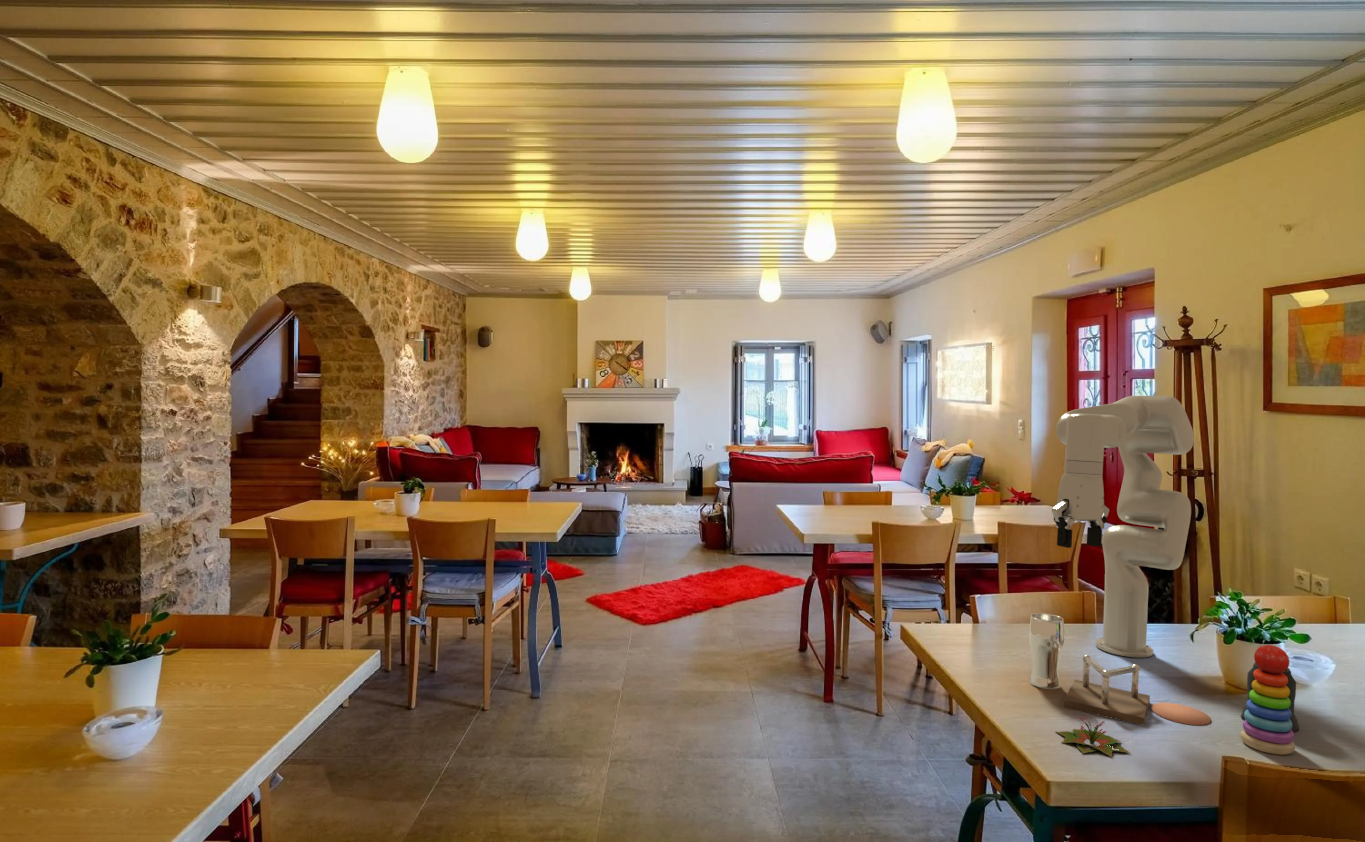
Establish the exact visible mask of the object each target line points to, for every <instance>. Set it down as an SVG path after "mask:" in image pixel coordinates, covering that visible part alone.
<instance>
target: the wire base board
mask: <svg viewBox="0 0 1365 842" xmlns="http://www.w3.org/2000/svg"><path fill="white" fill-rule="evenodd" d="M1150 699H1151V698H1150V695H1149V694H1144V693H1139V692H1138V698H1133V697H1131V691H1130V690H1125V689H1120V688H1116V687H1111V686H1109V697H1108V705H1104V704H1102V703H1101V701H1102V684H1098V683H1092V682H1089V687H1088V688H1086V687H1083V680H1080V679H1079V680H1078V679H1074V681H1073V682H1072V684H1071V686H1070V688H1069V689H1068V692H1067V693H1066V695H1065V697H1064V699H1063V707H1064V708H1067V709H1072V710H1076V711H1080V712H1084V713H1088V714H1093V713H1094V714H1093V715H1097V714H1099V715H1098V716H1101V715H1103V716H1102V717H1105V716H1107V717H1106V718H1110V717H1112V718H1111V719H1114V718H1117V719H1116V720H1118V719H1120V720H1119V721H1123V720H1124V722H1128V723H1131V724H1135V725H1141V726H1145V722H1146V718H1147V714H1148V710H1149V706H1150Z"/></svg>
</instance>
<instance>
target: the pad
mask: <svg viewBox="0 0 1365 842" xmlns="http://www.w3.org/2000/svg"><path fill="white" fill-rule="evenodd" d="M1150 710H1151V712H1153V713H1154V714H1155V715H1157V716H1159V717H1160V718H1164V719H1165V720H1168V721H1172V722H1174V723H1175V722H1176V723H1180V724H1185V725H1193V726H1204V725H1208V724H1210V723H1211V717H1210V716H1209V715H1208V714H1207V713H1205V712H1204V711H1202V710H1200V709H1197V708H1194V707H1191V706H1187V705H1183V704H1179V703H1174V702H1173V703H1172V702H1157V703H1153V704H1151V706H1150Z"/></svg>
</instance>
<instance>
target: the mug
mask: <svg viewBox="0 0 1365 842" xmlns="http://www.w3.org/2000/svg"><path fill="white" fill-rule="evenodd" d="M1256 669H1259V667H1258V666H1257V664H1256V662H1255V661H1254V663H1253V665H1252V667H1251V669H1249V671H1248V672H1247V680H1246V688H1247V695H1246V696H1247V697H1246V702H1247V701H1248V700H1250V698H1249V693H1250V691H1251V690H1253V688H1252V682H1253V681H1254V680H1256V679H1255V678H1254V676H1253V673H1254V671H1255V670H1256ZM1282 673H1283V674H1285V675H1286V676H1287V678H1288V683H1287V684H1286V686H1287V687H1288V688H1289V690H1290V695H1289V696H1288V698H1289V699H1290V702H1291V705H1290V707H1289V709H1290V711H1291V714H1292V715H1291V717H1290V720H1291V722H1292V729H1291V730H1292V731H1293V733H1294V734H1295V733H1298V732H1299V731H1300V727H1299V723H1298V719H1297V717H1296V715H1295V701H1296V697H1297V693H1296V691H1297V681H1296V680H1295V678H1294V677H1293V675H1292V670H1291V669H1290V668H1289V667H1288V668H1287V670H1285V671H1284V672H1282ZM1246 710H1247V707H1246V704H1245V705H1244V707H1243V709H1242V711H1241V714H1240V718H1241V720H1242V721H1243V722H1244V721H1245V720H1246V719H1245V717H1244V713H1245V711H1246Z"/></svg>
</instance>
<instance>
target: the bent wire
mask: <svg viewBox="0 0 1365 842" xmlns="http://www.w3.org/2000/svg"><path fill="white" fill-rule="evenodd" d="M1082 661H1083V662H1082V663H1083V665H1082V667H1083V668H1082V681H1083V687H1086V688H1088V687H1089V683H1090V668H1093V669H1094V670H1095V671H1096V672H1097V673H1099V674H1100V675H1101V676H1102V678H1101V679H1102V680H1101V685H1102V701H1101V703H1102V704H1104V705H1108V697H1109V687H1110V678H1111V677H1116V676H1120V675H1121V676H1122V675H1126V674H1131V687H1130V688H1131V697H1133V698H1138V693H1139V682H1140V681H1139V678H1140V671H1141V667H1140V666H1139V665H1138V664H1132V665H1130V666H1125V667H1123V666H1122V667H1120V668H1118V667H1117V668H1114V669H1109V670H1106V669H1105V668H1104V667H1103V666H1101V665H1100V664H1098V662H1096V661H1095V660H1094V659H1092V658H1091V656H1090V655H1089V654H1084V655H1083V656H1082Z"/></svg>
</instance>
